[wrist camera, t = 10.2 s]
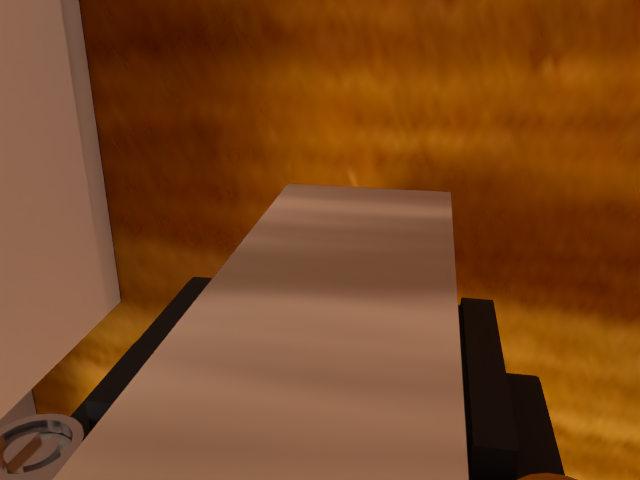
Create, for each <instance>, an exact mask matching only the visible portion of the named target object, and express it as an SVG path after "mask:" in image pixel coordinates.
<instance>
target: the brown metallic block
mask: <svg viewBox="0 0 640 480" xmlns="http://www.w3.org/2000/svg"><path fill="white" fill-rule="evenodd" d="M53 480H469V475H468V459H467V443H466V427H465V411H464V395H463V379H462V363H461V347H460V331H459V315H458V299H457V283H456V267H455V251H454V235H453V219H452V203H451V192H442V191H422V190H402V189H382V188H362V187H342V186H322V185H302V184H287V185H286V187H285V188H284V189H283V190H282V192H281V193H280V194H279V195H278V197H277V198H276V199H275V201H274V202H273V203H272V204H271V206H270V207H269V208H268V209H267V211H266V212H265V213H264V214H263V216H262V217H261V218H260V219H259V221H258V222H257V223H256V224H255V226H254V227H253V228H252V229H251V231H250V232H249V233H248V234H247V236H246V237H245V238H244V239H243V241H242V242H241V243H240V245H239V246H238V247H237V248H236V250H235V251H234V252H233V253H232V255H231V256H230V257H229V258H228V260H227V261H226V262H225V263H224V265H223V266H222V267H221V268H220V270H219V271H218V272H217V273H216V275H215V276H214V277H213V278H212V280H211V281H210V282H209V284H208V285H207V286H206V287H205V289H204V290H203V291H202V292H201V294H200V295H199V296H198V297H197V299H196V300H195V301H194V302H193V304H192V305H191V306H190V307H189V309H188V310H187V311H186V312H185V314H184V315H183V316H182V317H181V319H180V320H179V321H178V322H177V324H176V325H175V326H174V328H173V329H172V330H171V331H170V333H169V334H168V335H167V336H166V338H165V339H164V340H163V341H162V343H161V344H160V345H159V346H158V348H157V349H156V350H155V351H154V353H153V354H152V355H151V356H150V358H149V359H148V360H147V361H146V363H145V364H144V365H143V367H142V368H141V369H140V370H139V372H138V373H137V374H136V375H135V377H134V378H133V379H132V380H131V382H130V383H129V384H128V385H127V387H126V388H125V389H124V390H123V392H122V393H121V394H120V395H119V397H118V398H117V399H116V400H115V402H114V403H113V404H112V405H111V407H110V408H109V409H108V411H107V412H106V413H105V414H104V416H103V417H102V418H101V419H100V421H99V422H98V423H97V424H96V426H95V427H94V428H93V429H92V431H91V432H90V433H89V434H88V436H87V437H86V438H85V439H84V441H83V442H82V443H81V444H80V446H79V447H78V448H77V450H76V451H75V452H74V453H73V455H72V456H71V457H70V458H69V460H68V461H67V462H66V463H65V465H64V466H63V467H62V468H61V470H60V471H59V472H58V473H57V475H56V476H55V477H54V478H53Z"/></svg>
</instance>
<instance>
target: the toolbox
mask: <svg viewBox="0 0 640 480" xmlns="http://www.w3.org/2000/svg"><path fill="white" fill-rule="evenodd" d="M120 302H121V299H120V292H119V284H118V277H117V270H116V263H115V256H114V249H113V242H112V234H111V227H110V220H109V213H108V206H107V199H106V192H105V185H104V177H103V170H102V163H101V156H100V149H99V142H98V135H97V128H96V120H95V113H94V106H93V99H92V92H91V85H90V78H89V71H88V63H87V56H86V49H85V42H84V35H83V28H82V21H81V14H80V6H79V0H0V428H2V427H3V426H5V425H7V424H9V423H12V422H14V421H16V420H18V419H22V418H25V417H29V416H33V415H37V414H36V409H35V404H34V400H33V395H32V390H31V389H32V388H33V387H34V386H35V385H36V384H37V383H38V382H39V381H40V380H41V379H42V378H43V377H44V376H45V375H46V374H47V373H48V372H49V371H50V370H51V369H52V368H53V367H54V366H55V365H56V364H58V363H59V362H60V361H61V360H62V359H63V358H64V357H65V356H66V355H67V354H68V353H69V352H70V351H71V350H72V349H73V348H74V347H75V346H76V345H77V344H78V343H79V342H80V341H81V340H82V339H83V338H84V337H85V336H86V335H87V334H88V333H89V332H90V331H91V330H92V329H93V328H94V327H95V326H96V325H97V324H98V323H99V322H100V321H101V320H102V319H103V318H104V317H105V316H106V315H107V314H108V313H109V312H111V311H112V310H113V309H114V308H115V307H116V306H117V305H118V304H119V303H120Z"/></svg>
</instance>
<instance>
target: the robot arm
mask: <svg viewBox="0 0 640 480" xmlns="http://www.w3.org/2000/svg"><path fill="white" fill-rule="evenodd" d="M211 280H212V278H201V277H193V278H192V279H191V280H190V281H189V282H188V283H187V284H186V285H185V286H184V288H183V289H182V290H181V291H180V292H179V293H178V295H177V296H176V297H175V298H174V299H173V300H172V301H171V303H170V304H169V305H168V306H167V307H166V308H165V309H164V311H163V312H162V313H161V314H160V315H159V316H158V318H157V319H156V320H155V321H154V322H153V323H152V324H151V326H150V327H149V328H148V329H147V330H146V331H145V332H144V334H143V335H142V336H141V337H140V338H139V339H138V341H136V342H135V343H134V344H133V345H132V346H131V347H130V349H129V350H128V351H127V352H126V353H125V354H124V356H123V357H122V358H121V359H120V360H119V361H118V362H117V364H116V365H115V366H114V367H113V368H112V369H111V370H110V372H109V373H108V374H107V375H106V376H105V377H104V378H103V380H102V381H101V382H100V383H99V384H98V385H97V386H96V388H95V389H94V390H93V391H92V392H91V393H90V394H89V396H88V397H87V398H86V399H85V400H84V401H83V403H82V404H81V405H80V406H79V407H78V408H77V409H76V411H75V412H74V413H73V414H72V415H71V416H70V417H69V416H67V415H64V414H54V413H48V414H38V415H33V416H29V417H25V418H22V419H18V420H16V421H14V422H12V423H9V424H7V425H5V426H3V427H2V428H0V480H53V478H54V477H55V476H56V475H57V473H58V472H59V471H60V470H61V468H62V467H63V466H64V465H65V463H66V462H67V461H68V460H69V458H70V457H71V456H72V455H73V453H74V452H75V451H76V450H77V448H78V447H79V446H80V444H81V443H82V442H83V441H84V439H85V438H86V437H87V436H88V434H89V433H90V432H91V431H92V429H93V428H94V427H95V426H96V424H97V423H98V422H99V421H100V419H101V418H102V417H103V416H104V414H105V413H106V412H107V411H108V409H109V408H110V407H111V405H112V404H113V403H114V402H115V400H116V399H117V398H118V397H119V395H120V394H121V393H122V392H123V390H124V389H125V388H126V387H127V385H128V384H129V383H130V382H131V380H132V379H133V378H134V377H135V375H136V374H137V373H138V372H139V370H140V369H141V368H142V367H143V365H144V364H145V363H146V361H147V360H148V359H149V358H150V356H151V355H152V354H153V353H154V351H155V350H156V349H157V348H158V346H159V345H160V344H161V343H162V341H163V340H164V339H165V338H166V336H167V335H168V334H169V333H170V331H171V330H172V329H173V328H174V326H175V325H176V324H177V322H178V321H179V320H180V319H181V317H182V316H183V315H184V314H185V312H186V311H187V310H188V309H189V307H190V306H191V305H192V304H193V302H194V301H195V300H196V299H197V297H198V296H199V295H200V294H201V292H202V291H203V290H204V289H205V287H206V286H207V285H208V284H209V282H210V281H211ZM458 315H459V331H460V347H461V363H462V379H463V395H464V411H465V427H466V443H467V459H468V475H469V480H577V479H574V478H571V477H568V476H565V474H564V470H563V466H562V462H561V458H560V455H559V451H558V447H557V443H556V439H555V436H554V432H553V428H552V424H551V420H550V417H549V413H548V409H547V405H546V401H545V398H544V394H543V390H542V386H541V382H540V380H539V377H537V376H532V375H521V374H511V373H506V370H505V364H504V359H503V353H502V348H501V342H500V336H499V331H498V325H497V320H496V314H495V308H494V303H493V300H485V299H472V298H461V303H460V305H458Z"/></svg>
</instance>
